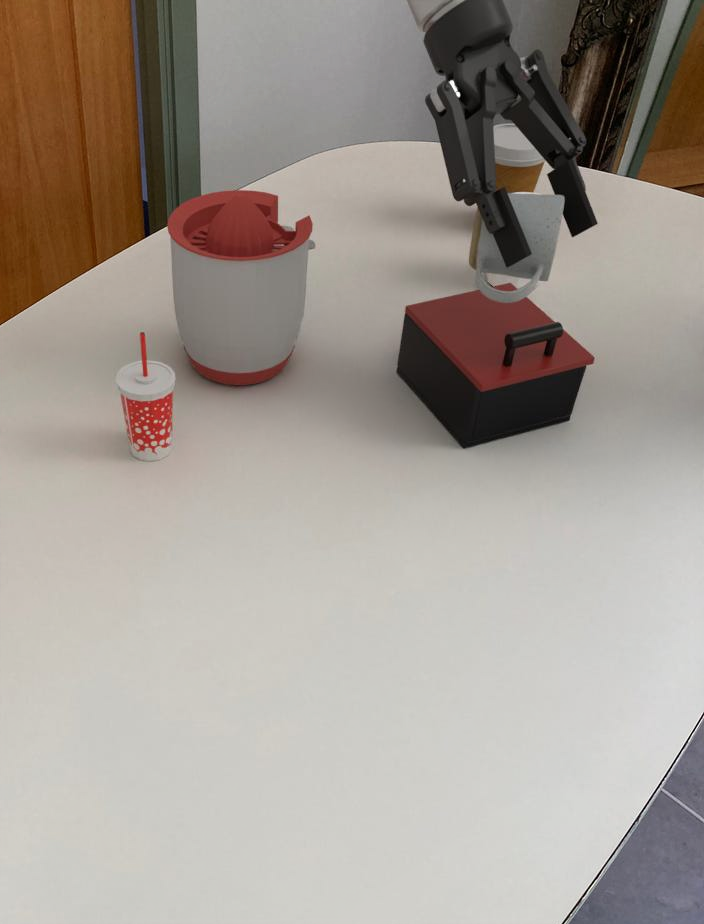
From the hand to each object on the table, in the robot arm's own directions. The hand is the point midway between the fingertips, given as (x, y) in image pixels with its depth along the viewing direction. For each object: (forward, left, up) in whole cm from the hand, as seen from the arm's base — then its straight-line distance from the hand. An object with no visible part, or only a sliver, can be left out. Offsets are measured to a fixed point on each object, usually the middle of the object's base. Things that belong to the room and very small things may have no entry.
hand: (552, 245), depth 95 cm
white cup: (+6, -31, -21) cm, 38 cm away
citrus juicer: (+32, -1, -21) cm, 38 cm away
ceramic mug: (+3, 0, -4) cm, 5 cm away
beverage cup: (+35, +19, -21) cm, 45 cm away
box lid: (+4, -4, -13) cm, 14 cm away
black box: (+4, -4, -21) cm, 21 cm away
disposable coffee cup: (+11, -46, -21) cm, 52 cm away
